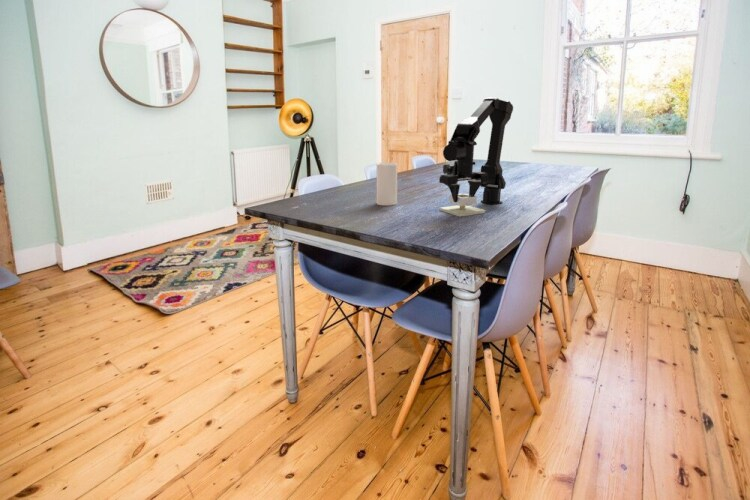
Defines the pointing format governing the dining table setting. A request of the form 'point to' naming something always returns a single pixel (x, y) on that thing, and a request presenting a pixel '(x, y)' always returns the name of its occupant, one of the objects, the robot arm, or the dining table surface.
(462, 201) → the link
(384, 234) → the dining table surface
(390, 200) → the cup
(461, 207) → the keeper
